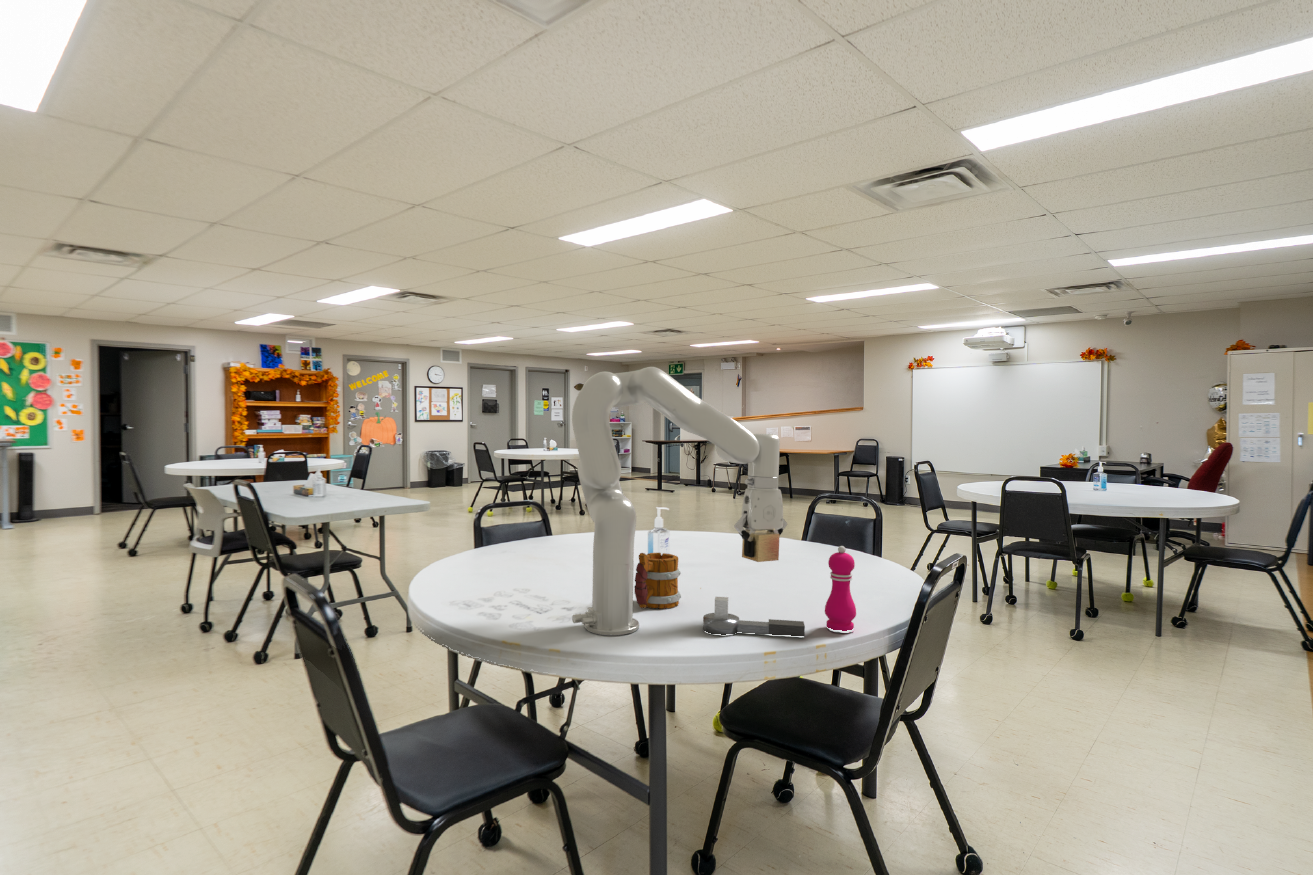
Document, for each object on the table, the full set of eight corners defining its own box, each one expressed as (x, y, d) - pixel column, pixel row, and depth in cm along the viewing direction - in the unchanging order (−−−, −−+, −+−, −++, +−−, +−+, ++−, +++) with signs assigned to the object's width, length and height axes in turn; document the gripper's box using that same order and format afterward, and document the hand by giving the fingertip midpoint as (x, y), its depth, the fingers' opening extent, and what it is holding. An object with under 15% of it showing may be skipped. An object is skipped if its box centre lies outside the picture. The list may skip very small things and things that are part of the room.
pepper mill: (832, 623, 159) (833, 542, 159) (860, 629, 154) (862, 545, 154) (819, 629, 153) (820, 545, 153) (848, 636, 149) (850, 550, 148)
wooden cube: (757, 562, 156) (758, 535, 156) (741, 556, 162) (742, 531, 162) (778, 560, 159) (779, 533, 159) (762, 555, 165) (763, 529, 165)
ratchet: (701, 634, 148) (702, 602, 148) (704, 623, 156) (705, 593, 156) (805, 641, 145) (806, 608, 144) (802, 630, 153) (803, 598, 153)
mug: (687, 602, 175) (688, 547, 175) (653, 616, 162) (654, 557, 161) (654, 596, 181) (655, 542, 181) (619, 609, 168) (620, 551, 167)
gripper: (743, 485, 153) (741, 561, 153) (799, 484, 161) (797, 556, 162) (725, 482, 159) (722, 555, 160) (780, 481, 168) (777, 550, 168)
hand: (760, 554), depth 161 cm, fingers closed on wooden cube, 6 cm apart
